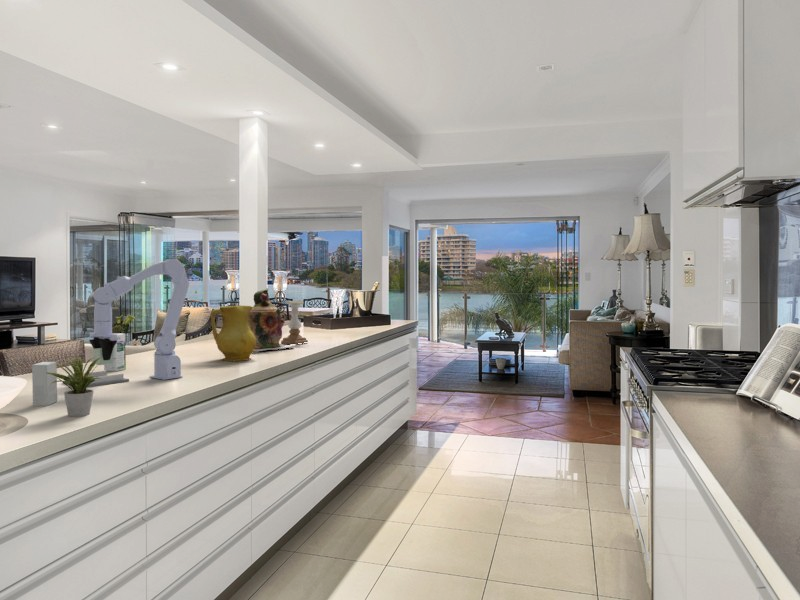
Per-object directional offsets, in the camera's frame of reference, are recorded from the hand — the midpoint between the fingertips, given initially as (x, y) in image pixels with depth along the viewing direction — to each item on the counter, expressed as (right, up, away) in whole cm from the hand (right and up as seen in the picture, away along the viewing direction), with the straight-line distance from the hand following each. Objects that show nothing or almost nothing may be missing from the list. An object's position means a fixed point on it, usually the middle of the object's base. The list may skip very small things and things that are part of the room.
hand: (103, 359), depth 214 cm
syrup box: (-8, -7, +26) cm, 28 cm away
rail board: (-1, -8, -2) cm, 8 cm away
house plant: (+18, -10, -49) cm, 53 cm away
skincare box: (+2, -10, -38) cm, 39 cm away
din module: (0, -2, 0) cm, 2 cm away
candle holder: (+45, -4, +128) cm, 136 cm away
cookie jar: (+33, -5, +104) cm, 109 cm away
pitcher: (+30, -6, +62) cm, 69 cm away
